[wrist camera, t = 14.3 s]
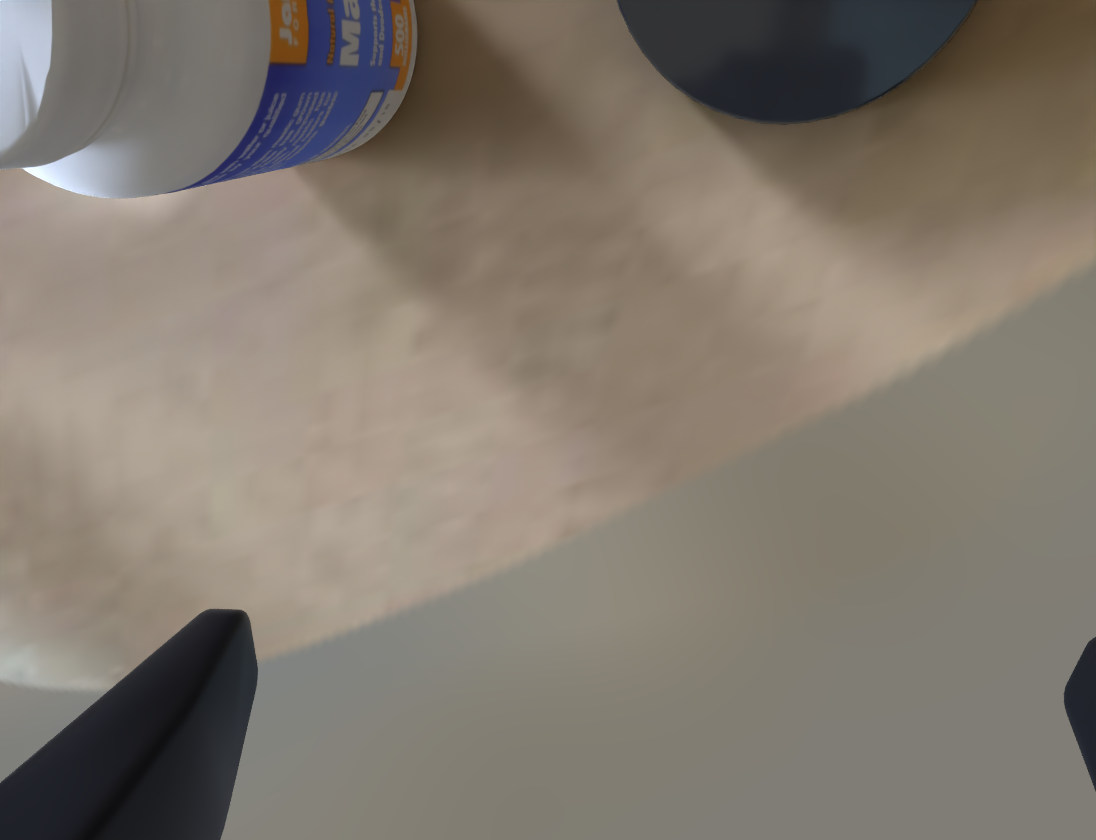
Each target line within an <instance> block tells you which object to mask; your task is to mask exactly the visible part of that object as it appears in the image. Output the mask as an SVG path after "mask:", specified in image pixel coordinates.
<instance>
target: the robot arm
mask: <svg viewBox="0 0 1096 840" xmlns="http://www.w3.org/2000/svg"><path fill="white" fill-rule="evenodd" d="M257 675H258V667H257V660H256V654H255V648H254V642H253V636H252V630H251V624H250V620H249V617H248V615H247V613H246V612H244V611H242V610H234V609H208V610H205V611H204V612H202V613H200V614H199V615H198V616H197V617H195V618H194V619H193V620H192V621H191V622H189V623H188V624H187V625H186V626H185V627H184V628H182V629H181V630H180V631H179V632H178V633H176V634H175V635H174V636H173V637H172V638H171V639H169V640H168V641H167V642H166V643H165V644H163V645H162V646H161V647H160V648H159V649H158V650H156V651H155V652H154V653H153V654H152V655H150V656H149V657H148V658H147V659H146V660H145V661H143V662H142V663H141V664H140V665H139V666H137V667H136V668H135V669H134V670H133V671H132V672H130V673H129V674H128V675H127V676H126V677H125V678H123V679H122V680H121V681H120V682H119V683H117V684H116V685H115V686H114V687H113V688H112V689H110V690H109V691H108V692H107V693H106V694H104V695H103V696H102V697H101V698H100V699H99V700H97V701H96V702H95V703H94V704H93V705H91V706H90V707H89V708H88V709H87V710H86V711H84V712H83V713H82V714H81V715H80V716H79V717H78V718H76V719H75V720H74V721H73V722H71V723H70V724H69V725H68V726H67V727H66V728H64V729H63V730H62V731H61V732H60V733H58V734H57V735H56V736H55V737H54V738H53V739H51V740H50V741H49V742H48V743H47V744H45V745H44V746H43V747H42V748H41V749H40V750H38V751H37V752H36V753H35V754H34V755H32V756H31V757H30V758H29V759H28V760H27V761H25V762H24V763H23V764H22V765H21V766H20V767H18V768H17V769H16V770H15V771H14V772H12V773H11V774H10V775H9V776H8V777H6V778H5V779H4V780H3V781H2V782H1V783H0V840H220V839H221V836H222V832H223V829H224V825H225V821H226V817H227V813H228V809H229V805H230V801H231V797H232V792H233V787H234V783H235V779H236V774H237V770H238V766H239V761H240V757H241V753H242V748H243V744H244V739H245V735H246V730H247V726H248V722H249V717H250V713H251V709H252V704H253V700H254V695H255V691H256V686H257ZM1064 704H1065V709H1066V713H1067V716H1068V718H1069V721H1070V724H1071V726H1072V729H1073V732H1074V734H1075V737H1076V740H1077V742H1078V745H1079V748H1080V750H1081V753H1082V756H1083V758H1084V761H1085V764H1086V766H1087V769H1088V772H1089V775H1090V777H1091V780H1092V783H1093V785H1094V788H1095V790H1096V637H1095V638H1093V639H1092V640H1091V641H1089V642H1088V644H1087V646H1086V647H1085V649H1084V651H1083V653H1082V655H1081V657H1080V659H1079V661H1078V663H1077V665H1076V667H1075V669H1074V671H1073V673H1072V675H1071V677H1070V679H1069V681H1068V682H1067V685H1066V687H1065V692H1064Z"/></svg>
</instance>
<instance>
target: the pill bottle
mask: <svg viewBox="0 0 1096 840" xmlns="http://www.w3.org/2000/svg"><path fill="white" fill-rule="evenodd" d="M416 52H417V19H416V13H415V6H414V1H413V0H0V170H1V169H13V168H23V169H24V170H26V171H27V172H29V173H31V174H32V175H34V176H36V177H38V178H40V179H42V180H45V181H47V182H49V183H51V184H53V185H55V186H58V187H60V188H63V189H66V190H68V191H72V192H75V193H79V194H84V195H89V196H94V197H101V198H136V197H145V196H153V195H159V194H165V193H172V192H177V191H181V190H186V189H190V188H195V187H199V186H204V185H208V184H213V183H218V182H223V181H227V180H232V179H237V178H242V177H247V176H251V175H256V174H260V173H265V172H270V171H274V170H279V169H284V168H289V167H294V166H298V165H303V164H307V163H312V162H316V161H321V160H325V159H329V158H332V157H336V156H338V155H341V154H343V153H346V152H348V151H351V150H353V149H355V148H357V147H359V146H361V145H362V144H364V143H366V142H367V141H369V140H370V139H371V138H372V137H374V136H375V135H376V134H377V133H378V132H379V131H380V130H381V129H382V128H383V127H384V126H385V125H386V124H387V123H388V122H389V121H390V119H391V118H392V116H393V115H394V114H395V112H396V111H397V109H398V108H399V106H400V105H401V103H402V101H403V99H404V97H405V94H406V92H407V90H408V87H409V84H410V81H411V78H412V74H413V70H414V65H415V60H416Z"/></svg>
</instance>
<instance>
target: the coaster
mask: <svg viewBox="0 0 1096 840" xmlns="http://www.w3.org/2000/svg"><path fill="white" fill-rule="evenodd" d="M977 1H978V0H617V3H618V7H619V10H620V12H621V14H622V16H623V18H624V21H625V23H626V25H627V27H628V29H629V32H630V33H631V35H632V37H633V38H634V40H635V41H636V43H637V45H638V46H639V48H640V49H641V51H642V53H643V54H644V55H645V56H646V58H647V59H648V60H649V61H650V62H651V64H652V65H653V66H654V67H655V69H656V70H657V71H658V72H659V73H660V74H661V75H662V76H663V77H664V78H665V79H667V80H668V81H669V82H670V83H671V84H672V85H673V86H674V87H675V88H677V89H678V90H680V91H681V92H682V93H684V94H685V95H687V96H688V97H690V98H691V99H692V100H694V101H696V102H698V103H700V104H702V105H704V106H706V107H708V108H710V109H712V110H714V111H716V112H719V113H721V114H724V115H727V116H730V117H733V118H736V119H740V120H746V121H751V122H756V123H763V124H784V125H786V124H798V123H810V122H815V121H819V120H824V119H828V118H833V117H837V116H839V115H842V114H845V113H848V112H851V111H854V110H856V109H859V108H861V107H863V106H865V105H867V104H869V103H871V102H873V101H875V100H877V99H879V98H881V97H883V96H885V95H887V94H888V93H890V92H891V91H893V90H894V89H896V88H897V87H899V86H900V85H902V84H903V83H905V82H907V81H908V80H909V79H910V78H911V77H913V76H914V75H915V74H916V73H917V72H919V71H920V70H921V69H922V68H923V67H925V66H926V65H927V64H928V63H929V62H930V61H931V60H932V59H933V58H934V57H935V56H936V55H937V54H938V53H939V52H940V51H941V50H942V49H943V48H944V47H945V46H946V45H947V44H948V43H949V41H950V40H951V39H952V38H953V36H954V35H955V34H956V32H957V31H958V30H959V28H960V27H961V26H962V25H963V23H964V22H965V21H966V19H967V18H968V16H969V15H970V13H971V11H972V10H973V8H974V6H975V5H976V3H977Z"/></svg>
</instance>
